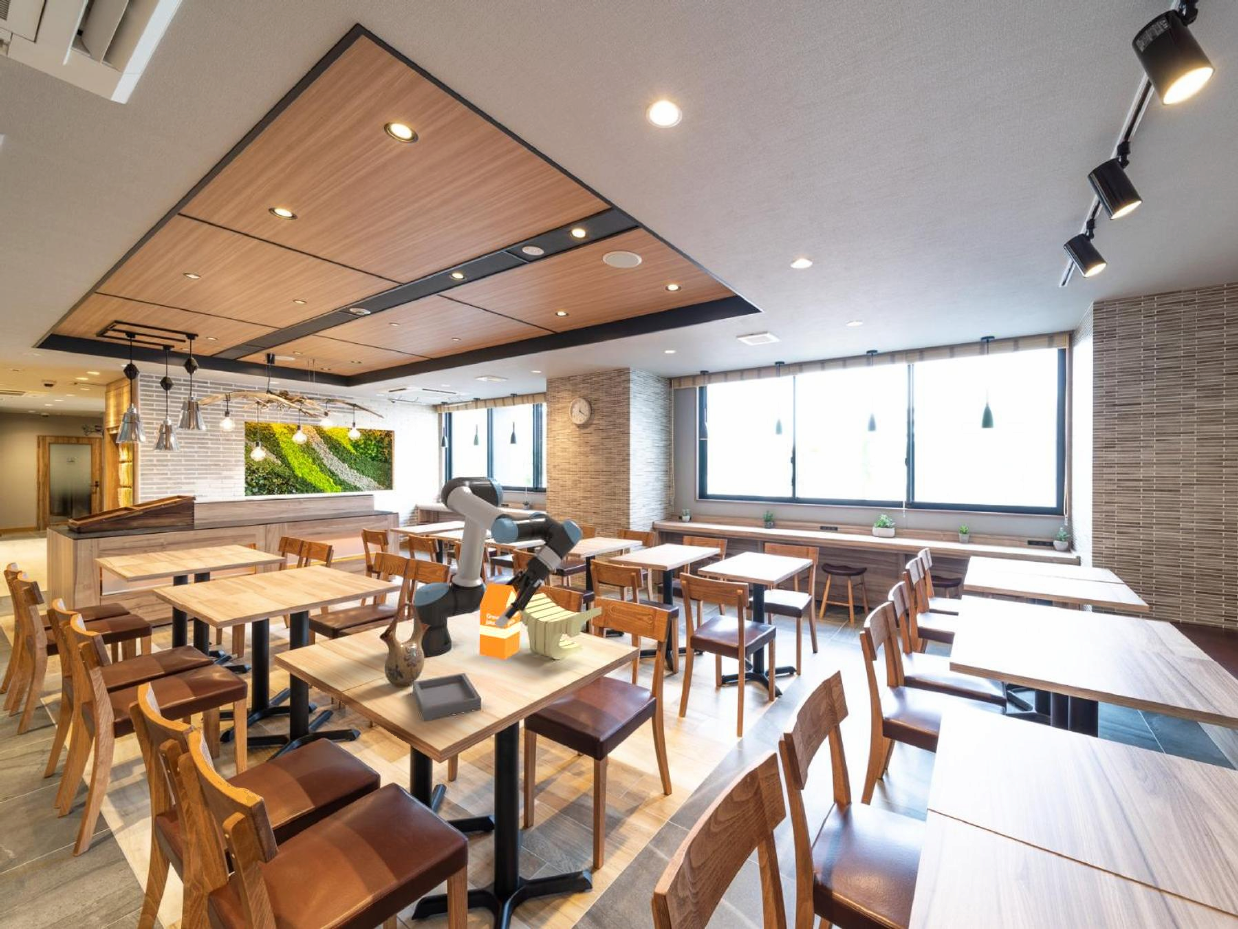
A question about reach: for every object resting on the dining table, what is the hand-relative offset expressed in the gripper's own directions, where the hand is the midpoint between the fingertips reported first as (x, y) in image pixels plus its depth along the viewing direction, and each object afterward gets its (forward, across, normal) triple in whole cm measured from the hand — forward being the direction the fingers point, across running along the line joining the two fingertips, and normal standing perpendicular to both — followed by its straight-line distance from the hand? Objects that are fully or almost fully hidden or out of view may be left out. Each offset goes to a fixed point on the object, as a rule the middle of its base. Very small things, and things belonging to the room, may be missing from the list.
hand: (491, 620), depth 147 cm
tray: (+24, +5, -8) cm, 26 cm away
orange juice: (+5, 0, -9) cm, 10 cm away
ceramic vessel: (+31, +22, -2) cm, 38 cm away
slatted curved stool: (-6, +27, -39) cm, 48 cm away
